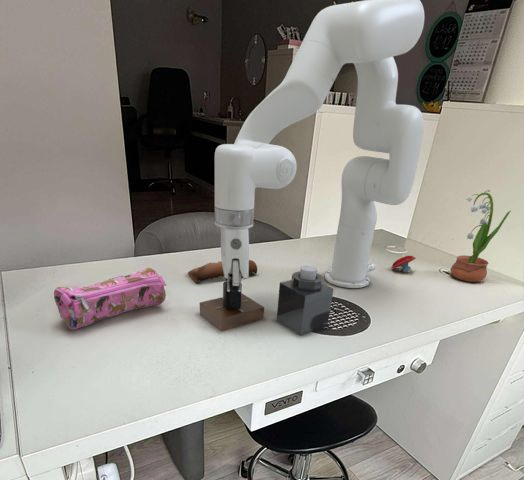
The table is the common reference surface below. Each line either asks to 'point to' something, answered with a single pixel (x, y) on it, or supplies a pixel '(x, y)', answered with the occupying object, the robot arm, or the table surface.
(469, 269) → the potted flower
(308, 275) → the grey cylinder plug
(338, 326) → the table surface
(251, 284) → the table surface
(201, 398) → the table surface
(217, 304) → the control box
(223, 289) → the dial
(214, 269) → the sunglasses case
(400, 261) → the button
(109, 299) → the pencil case
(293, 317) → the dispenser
